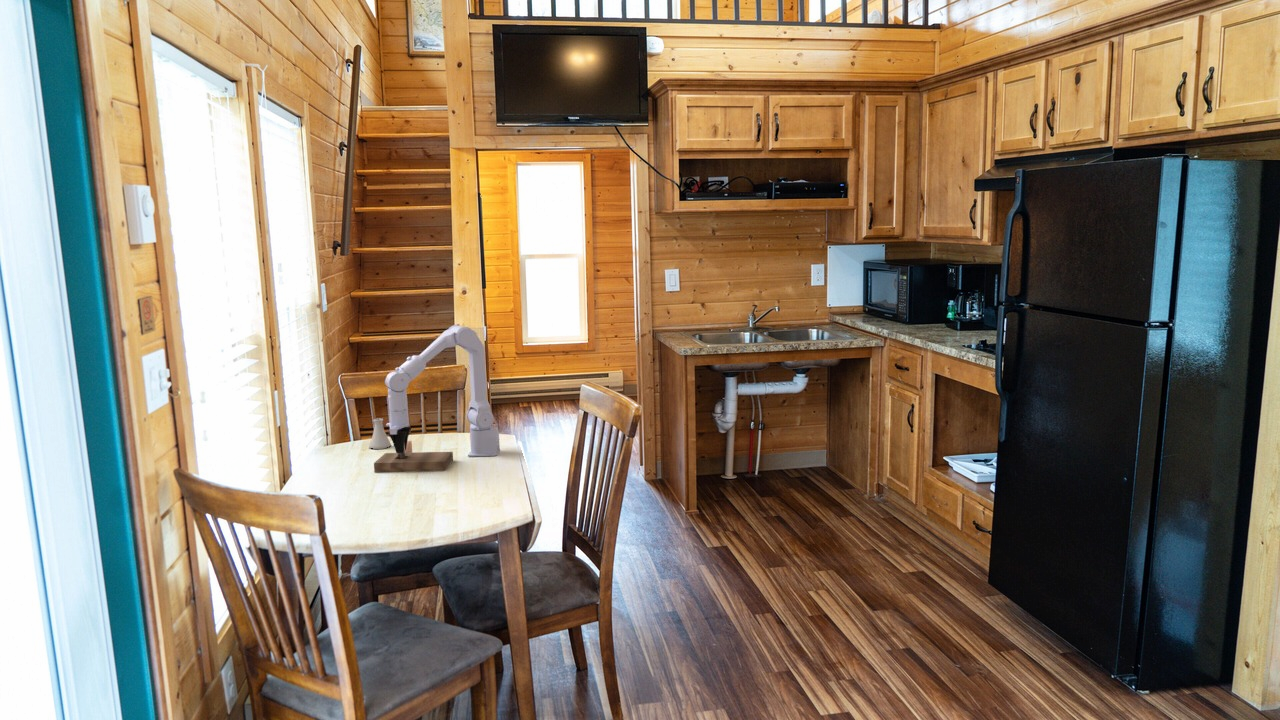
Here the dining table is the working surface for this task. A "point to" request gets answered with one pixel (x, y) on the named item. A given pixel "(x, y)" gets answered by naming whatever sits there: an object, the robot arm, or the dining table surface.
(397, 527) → the dining table surface
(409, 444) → the short pin
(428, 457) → the hole board
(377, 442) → the flask
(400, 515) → the dining table surface
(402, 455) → the tall pin
